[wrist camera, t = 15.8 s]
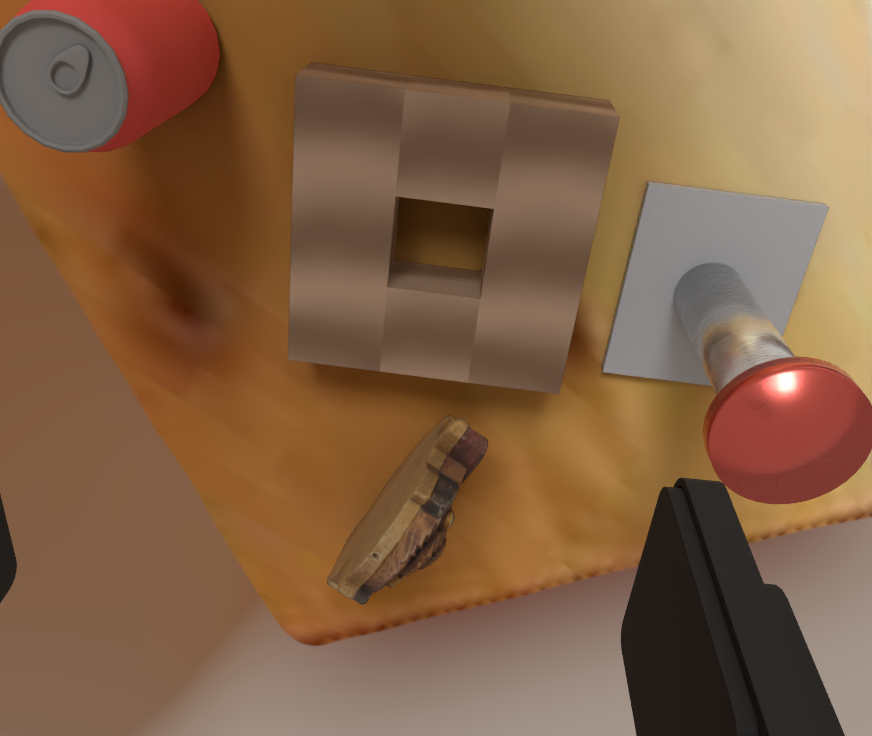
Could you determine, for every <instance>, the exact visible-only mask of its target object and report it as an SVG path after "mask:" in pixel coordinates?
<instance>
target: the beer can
mask: <svg viewBox="0 0 872 736" xmlns="http://www.w3.org/2000/svg"><path fill="white" fill-rule="evenodd" d="M219 57H220V52H219V44H218V37H217V32H216V30H215V28H214V26H213V23H212V21H211V19H210V16H209V14H208V12H207V11H206V10H205V9H204V8H203V6H202V5H201V4H200V3H199V1H198V0H31V1H30V2H29V3H28V4H26V5H25V6H24V7H23V8H22V9H21V10H20V11H19V12H18V13H17V14H16V15H15V17H14V18H12V19H11V20H10V21H9V23H8V24H7V25H6V26H5V27H4V28H3V29H2V30H1V31H0V103H1V104H2V106H3V108H4V110H5V111H6V113H7V115H8V117H9V118H10V119H11V120H12V121H13V122H14V123H15V124H16V125H17V126H18V127H19V128H20V129H21V130H22V131H23V132H24V133H25V134H26V135H28V136H29V137H31V138H32V139H34V140H36V141H37V142H39V143H40V144H42V145H43V146H46V147H49V148H52V149H56V150H59V151H62V152H106V151H112V150H115V149H117V148H120V147H123V146H126V145H129V144H131V143H132V142H134V141H135V140H137V139H139V138H140V137H142V136H143V135H145V134H146V133H148V132H149V131H151V130H152V129H154V128H156V127H157V126H159V125H160V124H162V123H163V122H165V121H166V120H168V119H170V118H171V117H173V116H174V115H176V114H177V113H179V112H180V111H182V110H183V109H185V108H187V107H188V106H190V105H191V104H193V103H194V102H195V101H197V100H198V99H199V98H200V97H201V96H202V95H204V94H205V93H206V92H207V91H208V90H209V88H210V86H211V84H212V82H213V80H214V78H215V77H216V75H217V69H218V63H219Z"/></svg>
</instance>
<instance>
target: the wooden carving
mask: <svg viewBox="0 0 872 736" xmlns="http://www.w3.org/2000/svg"><path fill="white" fill-rule="evenodd" d="M487 447H488V440H487V439H486V438H485V437H483V436H481V435H480V434H478V433H477V432H475V431H473V430H472V429H471V428H470V427H469V424H468V423H467V422H466V421H465V420H463V419H462V418H457V419H453V418H452V417H451V416H449V415H448V416H447V417H445V418H444V419H442V420H441V421H440V422H439V423H438V424H437V425H436V426H435V427H434V428H433V429H432V430H431V431H430V432H429V433H428V434H427V435H426V436H425V437H424V438H423V439H422V440H421V441H420V443H419V444H418V445H417V446H416V447H415V448H414V449H413V450H412V452H411V453H410V454H409V455H408V457H407V458H406V459H405V460H404V461H403V463H402V464H401V465H400V467H399V468H398V469H397V470H396V472H395V473H394V474H393V476H392V477H391V478H390V480H389V481H388V483H387V484H386V486H385V487H384V489H383V490H382V492H381V493H380V494H379V496H378V498H377V499H376V501H375V502H374V504H373V506H372V507H371V509H370V510H369V511H368V513H367V514H366V515H365V516H364V518H363V519H362V520H361V521H360V522H359V524H358V525H357V526H356V527H355V529H354V530H353V532H352V533H351V534H350V536H349V538H348V539H347V541H346V543H345V545H344V547H343V549H342V551H341V553H340V555H339V557H338V559H337V561H336V563H335V565H334V567H333V570H332V571H331V573H330V575H329V577H328V580H327V583H328V585H330V586H331V587H333V588H335V589H336V590H338V592H339V593H341V594H342V595H344V596H346V597H348V598H349V599H354V600H355V601H357V602H358V603H359V604H366V602H367V601H368V600H369V598H370V596H371V595H372V593H374V592H377V591H379V590H381V589H382V588H383V587H384V586H388V587H394V586H395V585H396V584H398V583H399V582H400V581H401V580H402V578H403V576H407V575H410V574H412V573H413V572H415V571H416V570H418V569H423V568H425V567H427V566H429V565H430V564H432V563H433V562H434V561H435V560H436V559H438V557H439V556H440V555H441V553H442V552H443V550H444V548H445V546H446V538H445V535H446V532H447V531H448V530H449V529H450V528H451V526H452V523H453V521H454V518H455V515H454V512H453V511H452V503H453V501H454V499H455V497H456V495H457V492H458V490H459V488H460V485H461V484H462V482H463V481H464V480H465V479H466V478H467V477H468V476H469V475H470V473H471V472H472V471H473V470H474V469H475V468H476V466H477V465H478V464H479V463H480V461H481V460H482V458H483V457H484V455H485V453H486V450H487Z"/></svg>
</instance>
